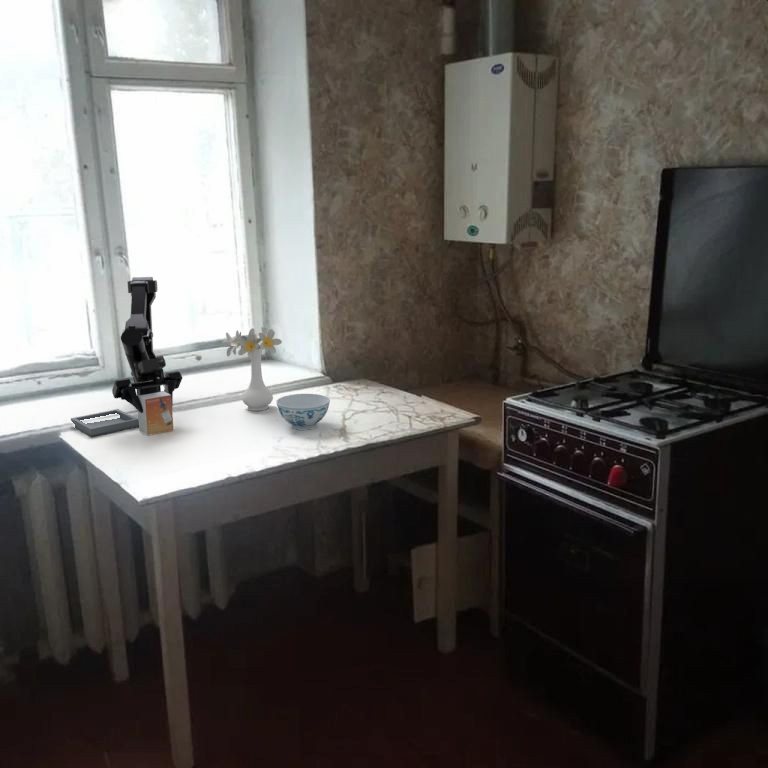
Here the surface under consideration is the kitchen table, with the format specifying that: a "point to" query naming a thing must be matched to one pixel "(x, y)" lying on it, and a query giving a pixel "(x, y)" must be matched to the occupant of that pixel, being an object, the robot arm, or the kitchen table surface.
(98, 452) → the kitchen table surface
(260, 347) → the flower vase
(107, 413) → the tray
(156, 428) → the small box
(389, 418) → the kitchen table surface
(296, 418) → the chinaware
